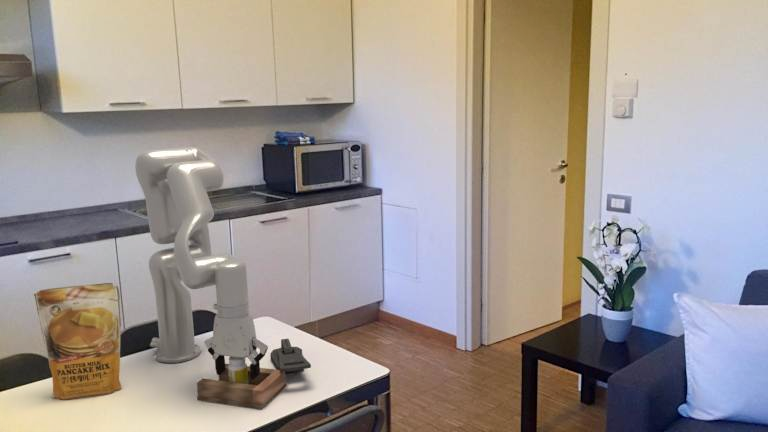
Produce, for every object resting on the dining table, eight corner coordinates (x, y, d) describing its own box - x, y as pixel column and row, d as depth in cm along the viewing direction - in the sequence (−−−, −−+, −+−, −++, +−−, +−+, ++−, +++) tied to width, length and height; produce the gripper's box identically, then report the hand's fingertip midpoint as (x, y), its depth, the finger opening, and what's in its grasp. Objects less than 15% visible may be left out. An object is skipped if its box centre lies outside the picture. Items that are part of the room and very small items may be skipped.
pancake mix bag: (50, 391, 168) (36, 287, 163) (129, 381, 173) (118, 279, 168) (44, 403, 162) (30, 295, 156) (126, 392, 167) (115, 287, 161)
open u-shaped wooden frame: (197, 400, 161) (195, 383, 160) (225, 378, 173) (224, 362, 173) (262, 409, 156) (261, 392, 155) (286, 386, 168) (285, 369, 167)
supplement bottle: (252, 385, 166) (250, 354, 165) (242, 393, 162) (240, 362, 160) (236, 383, 168) (233, 352, 166) (225, 391, 164) (223, 359, 162)
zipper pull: (278, 369, 163) (268, 334, 186) (279, 394, 164) (269, 356, 188) (313, 364, 165) (299, 330, 189) (314, 388, 166) (300, 352, 190)
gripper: (194, 311, 160) (199, 377, 163) (257, 317, 155) (261, 385, 158) (211, 302, 167) (216, 365, 170) (272, 307, 162) (275, 372, 165)
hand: (237, 374), depth 164 cm, fingers open, 9 cm apart
